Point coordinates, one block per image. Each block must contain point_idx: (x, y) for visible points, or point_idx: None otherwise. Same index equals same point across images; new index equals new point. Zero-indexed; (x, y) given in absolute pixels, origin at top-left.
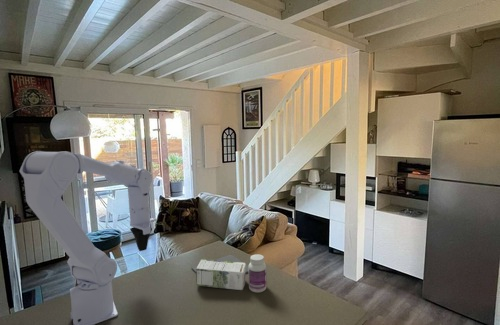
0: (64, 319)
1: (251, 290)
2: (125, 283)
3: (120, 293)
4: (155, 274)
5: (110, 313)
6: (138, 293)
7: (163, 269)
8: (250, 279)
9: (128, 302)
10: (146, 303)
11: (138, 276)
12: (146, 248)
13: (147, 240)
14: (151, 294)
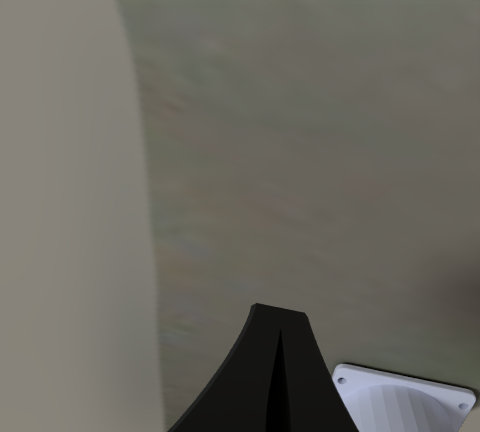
0: None
1: None
2: (222, 265)
3: None
4: (256, 95)
5: (444, 409)
6: (383, 265)
7: (230, 9)
8: None
9: (415, 325)
10: None
11: (197, 186)
12: (306, 319)
13: (346, 416)
14: (462, 226)
